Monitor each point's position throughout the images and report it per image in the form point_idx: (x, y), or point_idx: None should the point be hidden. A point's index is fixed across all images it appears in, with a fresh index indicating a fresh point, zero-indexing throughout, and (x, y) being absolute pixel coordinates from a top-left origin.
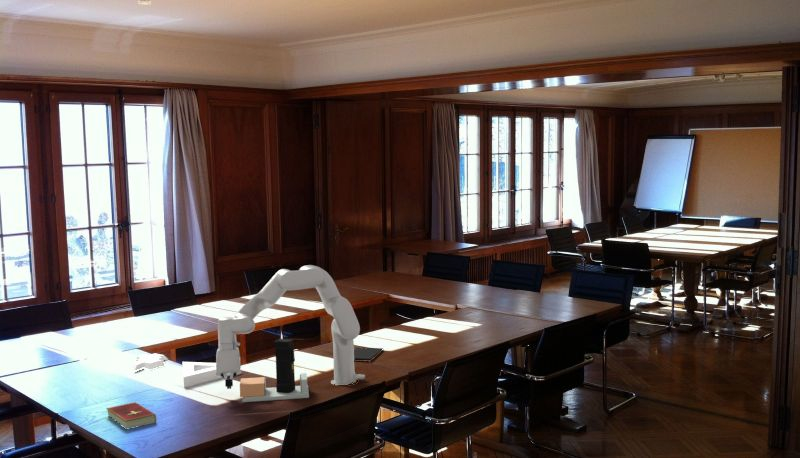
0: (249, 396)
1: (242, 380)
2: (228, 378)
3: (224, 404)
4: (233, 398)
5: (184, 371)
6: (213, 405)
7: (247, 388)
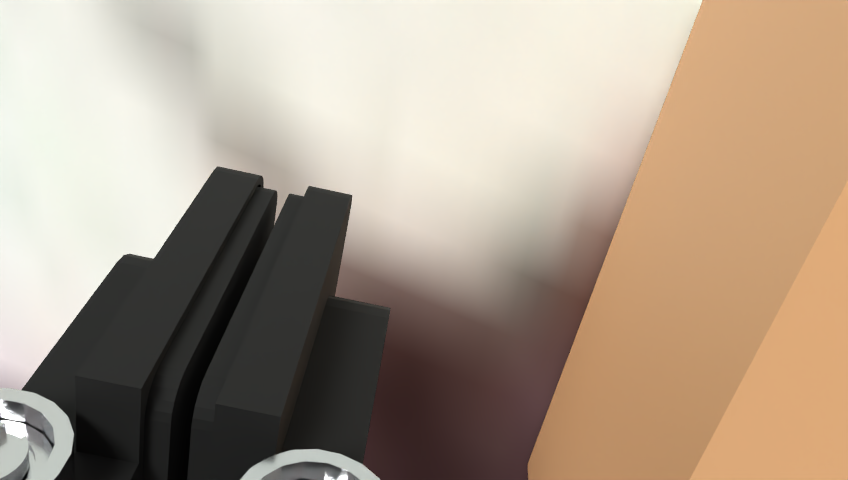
0: None
1: (822, 401)
2: (149, 410)
3: None
4: (419, 182)
5: None
6: None
7: None
